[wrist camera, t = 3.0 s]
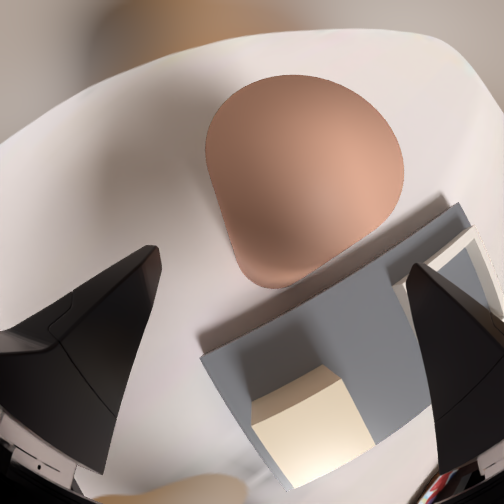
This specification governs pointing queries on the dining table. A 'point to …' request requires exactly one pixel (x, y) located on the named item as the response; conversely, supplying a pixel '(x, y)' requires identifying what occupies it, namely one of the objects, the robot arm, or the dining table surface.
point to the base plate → (346, 356)
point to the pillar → (300, 174)
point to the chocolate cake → (445, 484)
